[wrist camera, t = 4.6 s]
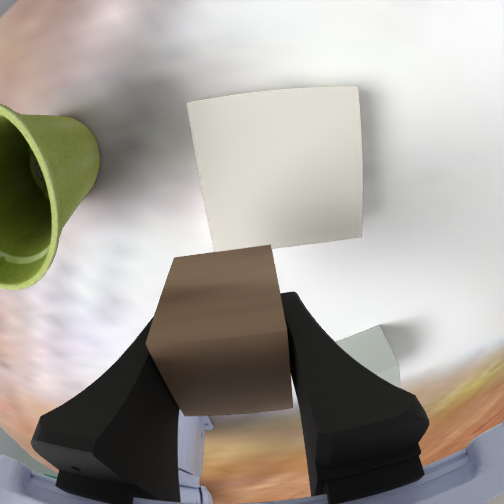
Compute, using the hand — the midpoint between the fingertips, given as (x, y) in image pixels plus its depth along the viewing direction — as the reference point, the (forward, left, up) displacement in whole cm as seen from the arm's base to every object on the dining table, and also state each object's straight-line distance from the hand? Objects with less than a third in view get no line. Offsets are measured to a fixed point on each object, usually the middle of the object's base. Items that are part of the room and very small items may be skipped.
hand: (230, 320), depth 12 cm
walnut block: (0, 0, -2) cm, 2 cm away
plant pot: (+7, +11, -10) cm, 16 cm away
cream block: (+4, -3, -10) cm, 11 cm away
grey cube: (-14, -9, -10) cm, 20 cm away
